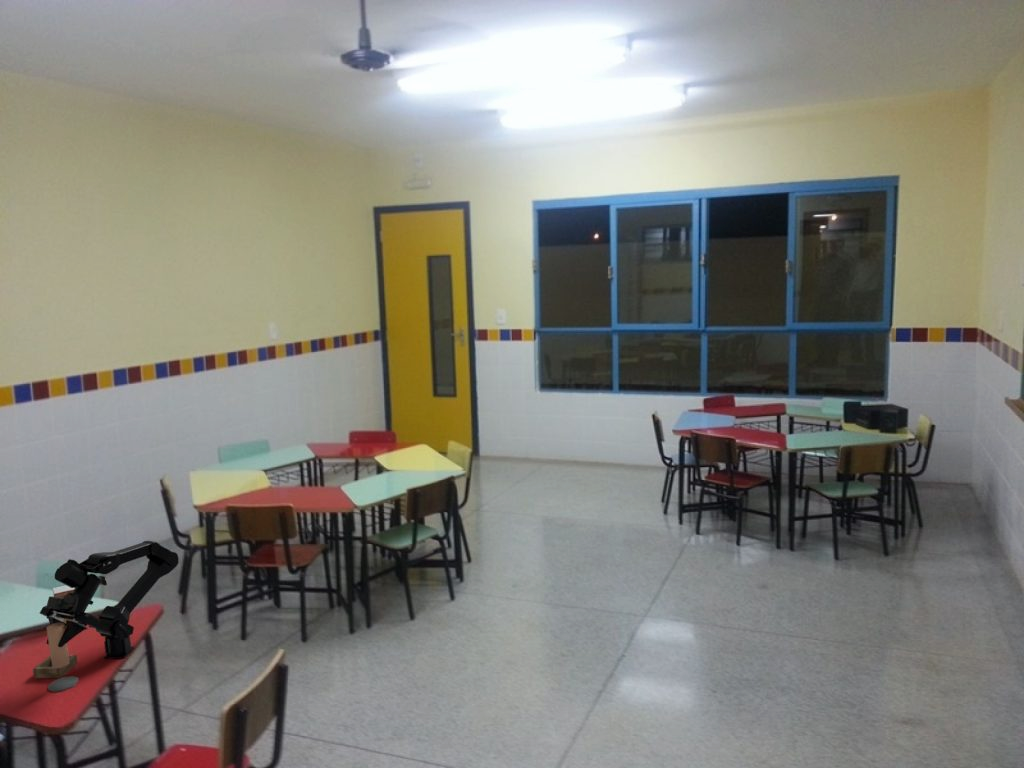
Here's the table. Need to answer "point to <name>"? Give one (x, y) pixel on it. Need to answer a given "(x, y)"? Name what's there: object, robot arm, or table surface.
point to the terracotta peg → (57, 653)
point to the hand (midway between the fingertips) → (53, 645)
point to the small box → (62, 593)
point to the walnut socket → (49, 672)
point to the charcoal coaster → (63, 684)
